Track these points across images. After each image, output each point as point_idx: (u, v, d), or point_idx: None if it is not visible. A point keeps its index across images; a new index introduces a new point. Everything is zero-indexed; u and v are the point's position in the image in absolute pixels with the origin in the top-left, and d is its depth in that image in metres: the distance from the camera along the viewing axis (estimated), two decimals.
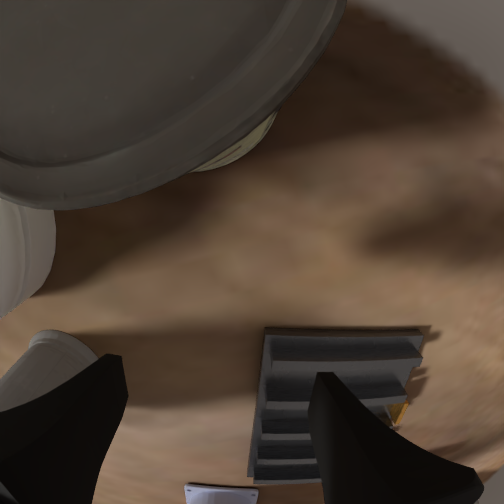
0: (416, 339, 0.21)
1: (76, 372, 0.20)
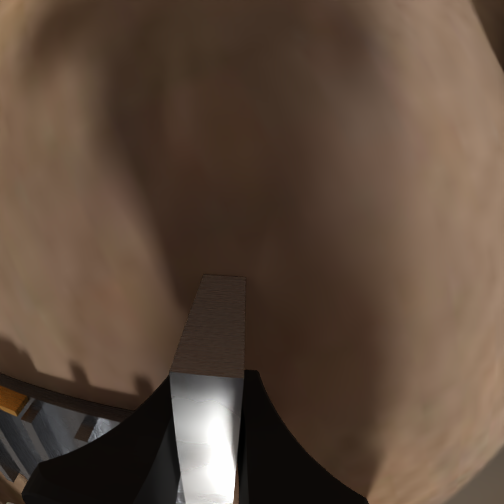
0: None
1: None
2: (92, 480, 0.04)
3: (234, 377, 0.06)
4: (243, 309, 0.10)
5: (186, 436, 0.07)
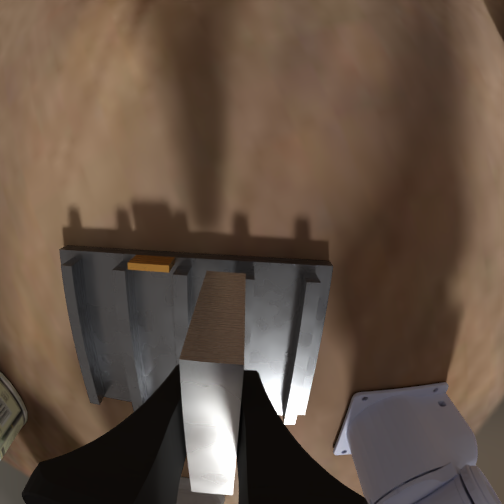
0: (64, 258, 0.18)
1: None
2: (92, 480, 0.04)
3: (236, 364, 0.07)
4: (243, 303, 0.11)
5: (193, 418, 0.08)
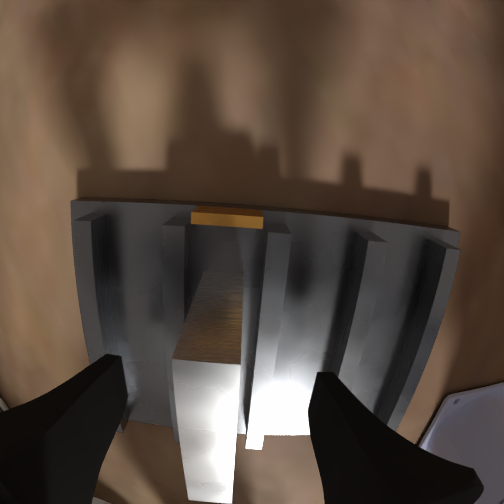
0: (77, 214, 0.12)
1: None
2: None
3: (232, 363, 0.07)
4: (241, 303, 0.10)
5: (187, 422, 0.08)
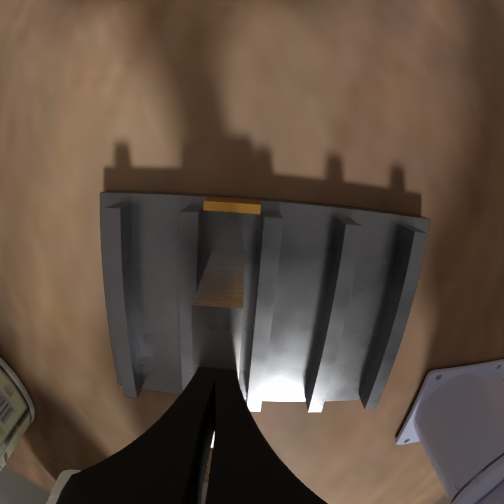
0: (105, 204, 0.15)
1: None
2: (130, 490, 0.04)
3: (237, 307, 0.10)
4: (243, 271, 0.13)
5: (200, 362, 0.10)
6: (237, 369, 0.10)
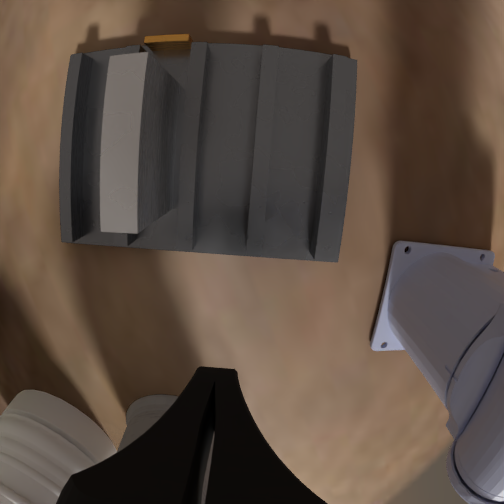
0: None
1: (132, 425, 0.20)
2: (130, 490, 0.04)
3: (143, 52, 0.10)
4: (167, 72, 0.13)
5: (110, 108, 0.10)
6: (140, 111, 0.10)
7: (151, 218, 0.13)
